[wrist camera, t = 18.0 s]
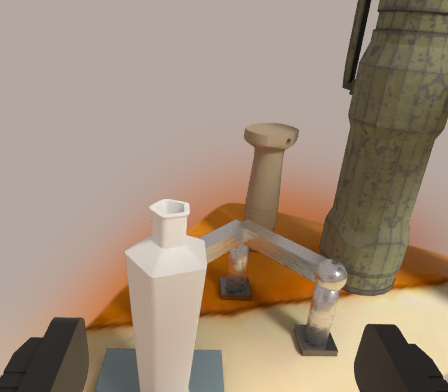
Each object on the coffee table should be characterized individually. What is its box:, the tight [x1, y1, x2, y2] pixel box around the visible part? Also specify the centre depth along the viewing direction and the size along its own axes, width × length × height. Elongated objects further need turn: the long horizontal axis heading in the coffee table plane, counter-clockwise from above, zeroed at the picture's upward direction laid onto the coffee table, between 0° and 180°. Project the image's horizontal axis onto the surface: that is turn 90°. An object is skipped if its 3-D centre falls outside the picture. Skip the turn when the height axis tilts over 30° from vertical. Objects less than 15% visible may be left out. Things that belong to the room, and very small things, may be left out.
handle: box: [244, 123, 299, 251], centre depth 45 cm, size 5×6×15 cm
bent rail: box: [198, 219, 347, 356], centre depth 35 cm, size 16×10×8 cm, turn 94°
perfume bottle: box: [125, 199, 207, 392], centre depth 23 cm, size 5×4×15 cm
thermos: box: [320, 0, 448, 296], centre depth 37 cm, size 9×12×35 cm
